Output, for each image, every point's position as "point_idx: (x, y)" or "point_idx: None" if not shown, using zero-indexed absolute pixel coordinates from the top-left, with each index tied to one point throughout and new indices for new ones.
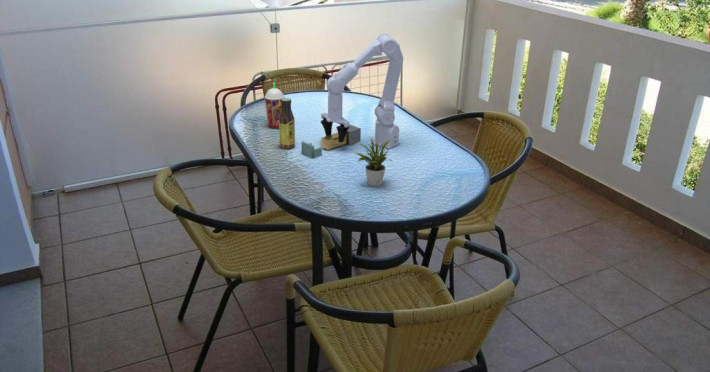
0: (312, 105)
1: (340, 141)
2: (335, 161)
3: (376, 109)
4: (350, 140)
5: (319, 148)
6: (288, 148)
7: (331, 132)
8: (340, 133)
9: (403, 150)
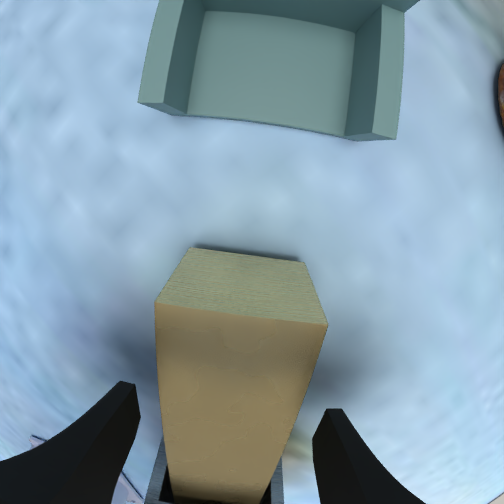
0: (501, 479)
1: (113, 390)
2: (14, 117)
3: None
4: (159, 453)
5: (145, 58)
6: (502, 64)
7: (315, 472)
8: (38, 446)
9: (9, 434)
